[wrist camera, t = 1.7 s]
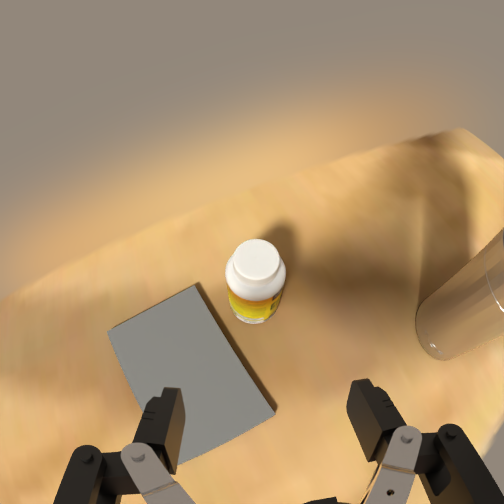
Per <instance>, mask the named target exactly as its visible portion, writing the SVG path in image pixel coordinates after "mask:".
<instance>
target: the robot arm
mask: <svg viewBox="0 0 504 504" xmlns="http://www.w3.org/2000/svg"><path fill="white" fill-rule="evenodd" d="M416 330H417V335H418V338H419V341H420V343H421V345H422V346H423V348H424V349H425V350H426V352H427V353H428V354H430V355H431V356H432V357H434V358H436V359H439V360H450V359H452V358H455V357H457V356H459V355H462V354H464V353H467V352H469V351H472V350H474V349H476V348H478V347H481V346H483V345H485V344H487V343H489V342H491V341H493V340H495V339H497V338H499V337H501V336H503V335H504V228H503V229H502V230H501V231H500V232H499V233H498V234H497V235H496V236H495V237H494V238H493V239H492V240H491V241H490V242H489V243H488V244H487V245H486V246H485V247H484V248H483V249H482V250H481V251H480V252H479V253H478V254H477V255H476V256H475V257H474V258H473V259H472V260H471V261H470V262H469V263H467V264H466V265H465V266H464V267H463V268H462V269H461V270H460V271H459V272H457V273H456V274H455V275H454V276H453V277H452V278H451V279H449V280H448V281H447V282H446V283H445V284H443V285H442V286H441V287H440V288H438V289H437V290H436V291H435V292H434V293H432V294H431V295H430V296H429V297H427V298H426V299H425V300H424V301H423V302H422V304H421V305H420V307H419V309H418V312H417V316H416ZM346 407H347V414H348V417H349V419H350V421H351V424H352V426H353V428H354V431H355V433H356V435H357V438H358V440H359V442H360V445H361V447H362V449H363V452H364V454H365V457H366V459H367V461H368V462H372V461H377V464H378V465H377V467H376V469H375V471H374V474H373V476H372V478H371V480H370V482H369V484H368V486H367V488H366V491H365V493H364V495H363V496H362V498H361V500H360V502H359V503H358V504H406V502H407V499H408V496H409V493H410V490H411V487H412V484H413V481H414V478H415V474H418V475H419V477H420V480H421V482H422V484H423V486H424V489H425V491H426V493H427V496H428V498H429V500H430V503H431V504H504V496H503V494H502V492H501V491H500V489H499V487H498V485H497V484H496V482H495V480H494V479H493V478H492V475H491V474H490V472H489V470H488V469H487V467H486V466H485V464H484V462H483V461H482V459H481V458H480V456H479V454H478V453H477V451H476V450H475V448H474V447H473V445H472V444H471V442H470V441H469V439H468V437H467V436H466V434H465V433H464V432H463V430H462V429H461V428H460V427H459V426H457V425H455V424H445V425H443V426H441V427H440V429H439V430H438V432H436V433H421V432H420V431H419V430H418V429H417V428H415V427H412V426H407V425H406V423H405V421H404V420H403V418H402V417H401V415H400V413H399V412H398V410H397V408H396V407H395V406H394V404H393V402H392V401H391V400H390V397H389V396H388V394H387V393H386V392H385V391H384V390H383V389H381V388H380V387H374V386H373V385H372V383H371V381H370V380H369V379H368V378H367V379H360V380H354V381H353V382H352V384H351V388H350V392H349V396H348V400H347V406H346ZM141 418H142V419H141V420H140V423H139V426H138V428H137V431H136V434H135V437H134V440H133V442H132V443H131V444H129V445H127V446H125V447H124V448H123V450H122V451H120V452H111V453H101V452H100V450H99V449H98V448H96V447H94V446H91V445H83V446H80V447H78V448H77V449H75V451H74V452H73V454H72V456H71V459H70V461H69V463H68V466H67V468H66V471H65V473H64V476H63V479H62V481H61V484H60V486H59V489H58V492H57V494H56V497H55V500H54V503H53V504H120V502H121V497H122V495H127V494H142V496H143V498H144V499H145V501H146V503H147V504H195V502H194V501H193V500H192V499H191V498H190V496H189V495H188V494H187V493H186V492H185V490H184V489H183V488H182V487H181V485H180V484H179V483H178V482H175V481H174V479H173V478H172V477H171V475H170V474H173V475H176V469H177V464H178V458H179V453H180V447H181V442H182V436H183V431H184V426H185V419H186V414H185V407H184V402H183V397H182V392H181V389H180V388H174V387H164V388H163V391H162V394H161V397H155V396H153V397H152V398H151V399H150V400H149V401H148V402H147V404H146V406H145V409H144V413H143V414H142V417H141ZM304 504H349V503H342V502H337V499H336V497H331V498H326V499H320V500H314V501H310V502H307V503H304Z"/></svg>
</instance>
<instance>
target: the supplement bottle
mask: <svg viewBox="0 0 504 504" xmlns="http://www.w3.org/2000/svg"><path fill="white" fill-rule="evenodd" d="M225 276H226V283H227V289H228V296H229V302H230V307H231V309H232V311H233V313H234V314H235V316H236V317H237V318H239V319H240V320H242V321H244V322H246V323H251V324H257V323H262V322H265V321H267V320H268V319H270V318H271V317H272V316H273V315H274V313H275V312H276V310H277V307H278V304H279V300H280V297H281V293H282V290H283V286H284V282H285V277H286V269H285V265H284V262H283V260H282V259H281V257H280V256H279V253H278V251H277V249H276V248H275V247H274V246H273V245H272V244H271V243H269V242H267V241H265V240H262V239H251V240H247V241H245V242H243V243H242V244H240V245H239V246H238V247H237V249H236V250H235V252H234V254H233V255H232V256H231V257H230V259H229V260H228V262H227V265H226V270H225Z"/></svg>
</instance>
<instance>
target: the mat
mask: <svg viewBox="0 0 504 504" xmlns="http://www.w3.org/2000/svg"><path fill="white" fill-rule="evenodd" d="M107 334H108V336H109V339H110V341H111V344H112V346H113V349H114V351H115V354H116V356H117V359H118V361H119V363H120V366H121V368H122V370H123V372H124V375H125V377H126V379H127V381H128V383H129V385H130V387H131V390H132V392H133V394H134V396H135V398H136V400H137V402H138V404H139V406H140V408H141V410H142V411H143V413H144V409H145V406H146V404H147V402H148V401H149V400H150V399H151V398H152V397H153V396H155V397H161V394H162V391H163V388H164V387H174V388H180V389H181V392H182V397H183V402H184V407H185V414H186V419H185V426H184V431H183V436H182V442H181V447H180V453H179V458H178V464H177V465H179V464H182V463H184V462H186V461H188V460H191V459H193V458H195V457H197V456H199V455H202V454H204V453H206V452H208V451H210V450H212V449H214V448H216V447H218V446H220V445H222V444H224V443H226V442H228V441H230V440H232V439H234V438H235V437H237V436H239V435H241V434H243V433H245V432H246V431H248V430H250V429H252V428H254V427H255V426H257V425H259V424H260V423H262V422H264V421H266V420H267V419H269V418H271V417H272V416H274V415H275V413H274V411H273V410H272V408H271V407H270V405H269V404H268V403H267V401H266V400H265V398H264V397H263V395H262V394H261V392H260V391H259V389H258V388H257V386H256V385H255V383H254V382H253V380H252V379H251V377H250V376H249V374H248V373H247V371H246V369H245V368H244V366H243V365H242V363H241V362H240V360H239V359H238V357H237V355H236V354H235V352H234V351H233V349H232V347H231V346H230V344H229V343H228V341H227V339H226V338H225V336H224V335H223V333H222V331H221V330H220V328H219V326H218V325H217V323H216V321H215V320H214V318H213V316H212V315H211V313H210V311H209V310H208V308H207V306H206V304H205V303H204V301H203V299H202V298H201V296H200V294H199V292H198V291H197V289H196V287H195V285H193V286H192V287H190V288H188V289H186V290H184V291H182V292H180V293H178V294H177V295H175V296H173V297H171V298H169V299H167V300H165V301H163V302H162V303H160V304H158V305H156V306H154V307H152V308H150V309H148V310H146V311H145V312H143V313H141V314H139V315H137V316H135V317H133V318H131V319H130V320H128V321H126V322H124V323H122V324H120V325H118V326H116V327H114V328H113V329H111V330H109V331H107Z"/></svg>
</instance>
